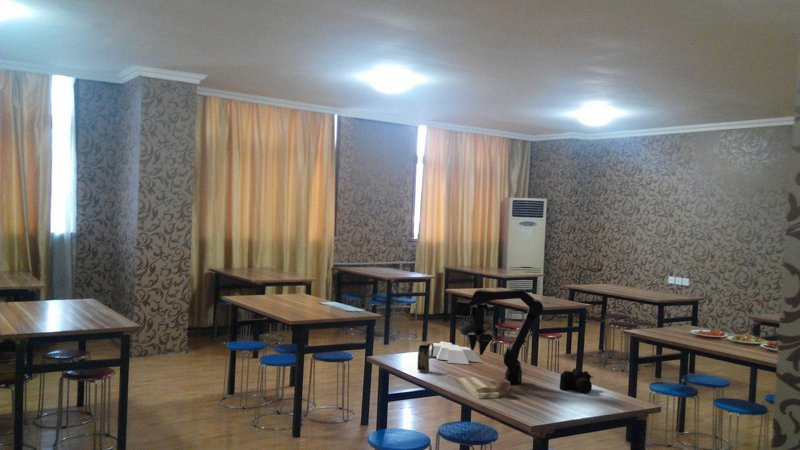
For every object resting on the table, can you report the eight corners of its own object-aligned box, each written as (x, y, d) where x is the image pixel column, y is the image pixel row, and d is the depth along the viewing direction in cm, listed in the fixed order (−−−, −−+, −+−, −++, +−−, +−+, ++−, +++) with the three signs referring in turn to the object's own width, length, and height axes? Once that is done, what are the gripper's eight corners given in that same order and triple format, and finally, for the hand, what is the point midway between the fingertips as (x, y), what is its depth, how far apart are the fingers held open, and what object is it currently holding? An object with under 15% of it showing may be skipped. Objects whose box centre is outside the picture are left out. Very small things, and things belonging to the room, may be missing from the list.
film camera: (568, 395, 268) (569, 374, 267) (556, 388, 277) (558, 368, 277) (600, 393, 272) (601, 373, 271) (587, 387, 281) (588, 367, 281)
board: (473, 381, 281) (474, 377, 281) (498, 398, 258) (499, 393, 258) (455, 382, 278) (455, 377, 278) (478, 399, 255) (478, 394, 255)
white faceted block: (413, 352, 335) (413, 341, 335) (440, 348, 348) (440, 338, 348) (460, 367, 309) (461, 355, 309) (488, 361, 322) (488, 351, 322)
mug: (421, 371, 294) (423, 346, 293) (414, 369, 298) (416, 343, 298) (435, 370, 298) (436, 344, 298) (428, 367, 303) (429, 342, 302)
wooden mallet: (505, 393, 265) (505, 379, 264) (509, 396, 261) (510, 382, 261) (474, 395, 260) (475, 380, 260) (478, 398, 256) (479, 383, 256)
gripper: (453, 314, 291) (451, 348, 291) (470, 322, 273) (468, 358, 274) (475, 314, 295) (474, 347, 295) (493, 321, 277) (492, 357, 277)
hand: (476, 352), depth 285 cm, fingers open, 9 cm apart
